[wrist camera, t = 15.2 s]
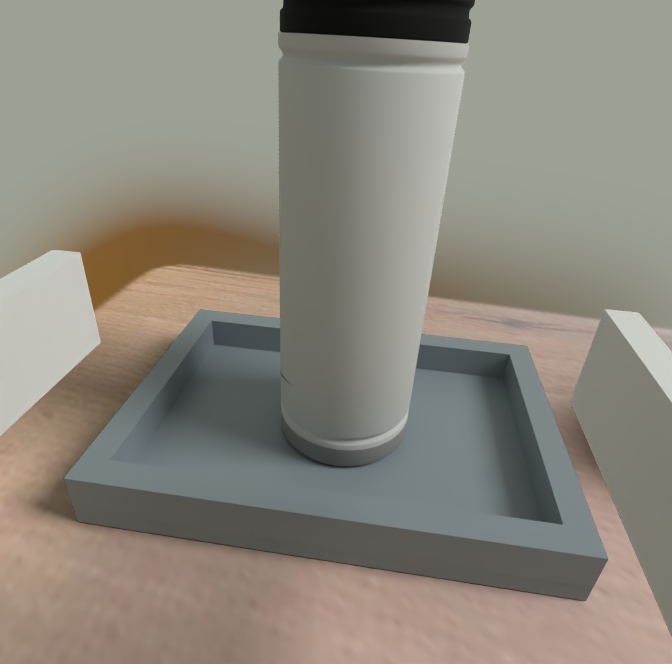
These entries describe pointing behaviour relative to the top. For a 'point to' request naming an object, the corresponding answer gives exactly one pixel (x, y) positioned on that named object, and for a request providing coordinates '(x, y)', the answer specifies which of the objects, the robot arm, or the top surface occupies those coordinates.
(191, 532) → the tray
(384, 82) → the travel mug
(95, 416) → the top surface
